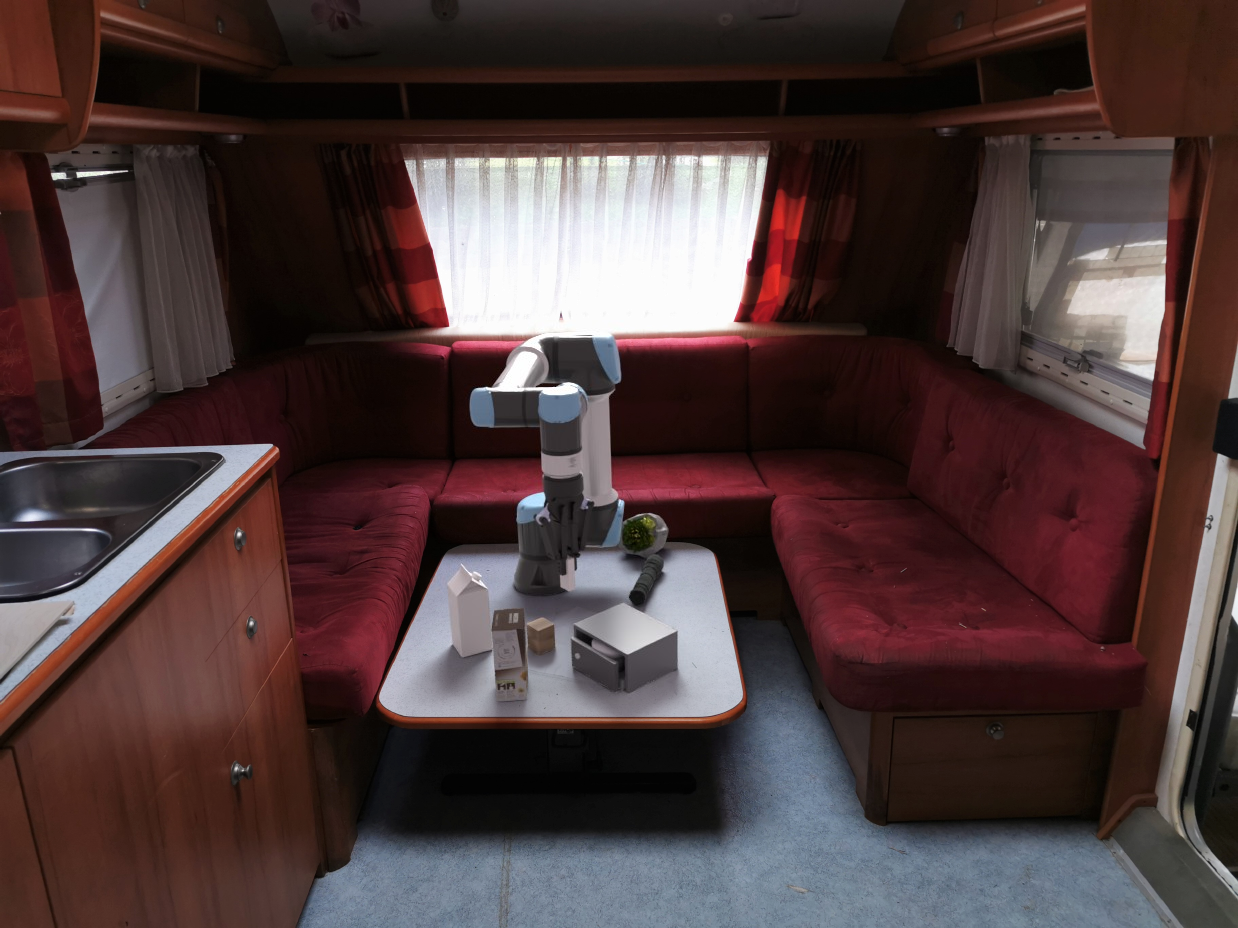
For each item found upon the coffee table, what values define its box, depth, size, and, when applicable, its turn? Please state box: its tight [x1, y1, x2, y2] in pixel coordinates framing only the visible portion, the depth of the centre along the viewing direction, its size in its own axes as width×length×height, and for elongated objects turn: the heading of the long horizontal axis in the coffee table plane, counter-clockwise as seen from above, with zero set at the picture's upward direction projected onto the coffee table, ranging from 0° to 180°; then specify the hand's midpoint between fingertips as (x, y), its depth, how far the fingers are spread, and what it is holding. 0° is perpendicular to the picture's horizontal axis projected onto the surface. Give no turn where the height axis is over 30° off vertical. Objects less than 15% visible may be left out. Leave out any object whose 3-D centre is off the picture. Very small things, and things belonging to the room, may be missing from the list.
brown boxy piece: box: [525, 617, 557, 656], centre depth 199 cm, size 4×4×6 cm
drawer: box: [570, 636, 625, 693], centre depth 190 cm, size 15×14×7 cm
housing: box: [573, 602, 679, 695], centre depth 192 cm, size 17×14×9 cm
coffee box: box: [491, 607, 529, 702], centre depth 183 cm, size 9×6×16 cm
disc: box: [592, 639, 623, 659], centre depth 189 cm, size 8×8×2 cm
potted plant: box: [618, 512, 669, 559], centre depth 244 cm, size 12×13×15 cm
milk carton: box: [446, 563, 493, 658], centre depth 198 cm, size 7×7×19 cm
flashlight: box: [628, 553, 665, 607], centre depth 227 cm, size 5×21×5 cm, turn 165°
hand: (567, 587), depth 174 cm, fingers closed
